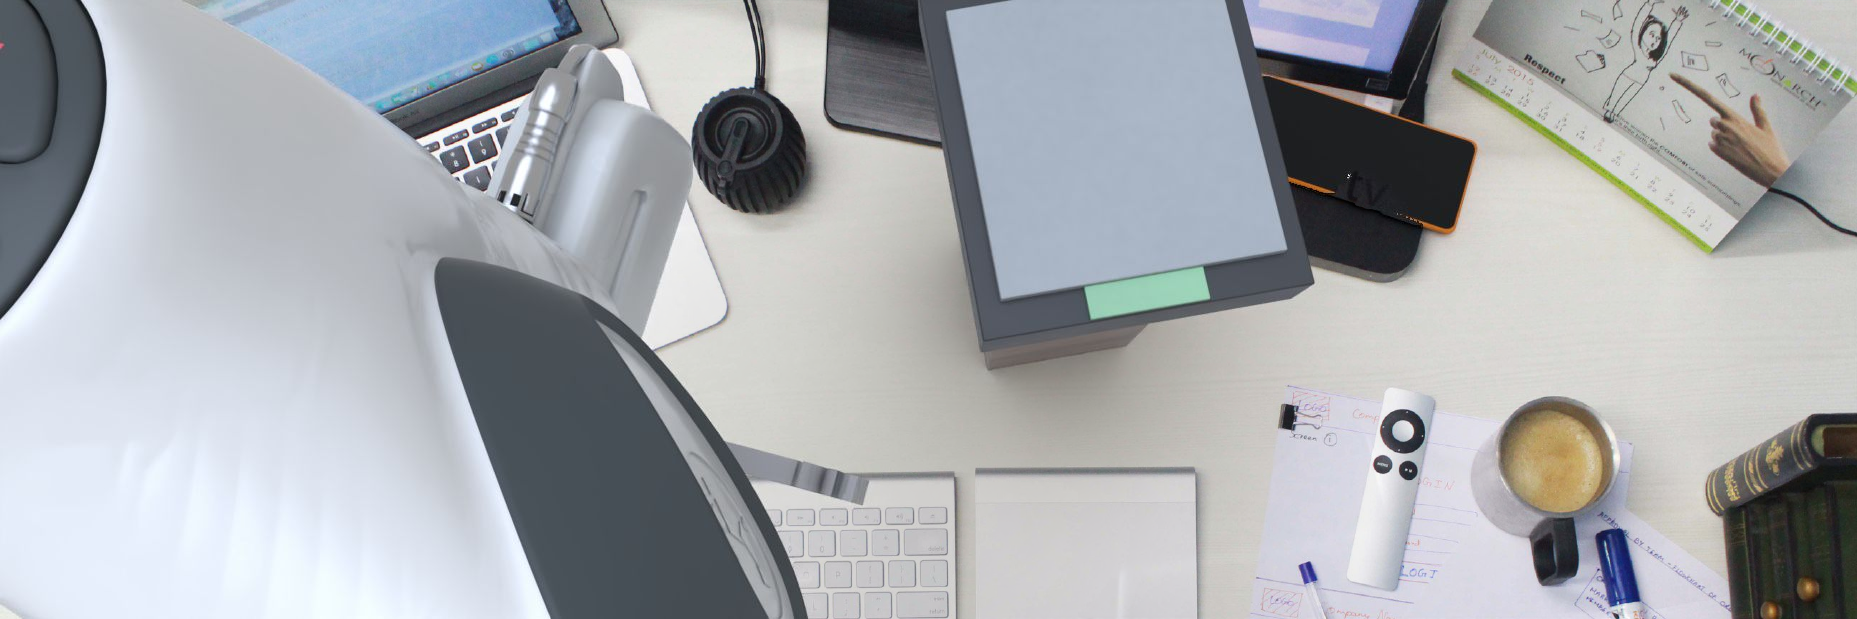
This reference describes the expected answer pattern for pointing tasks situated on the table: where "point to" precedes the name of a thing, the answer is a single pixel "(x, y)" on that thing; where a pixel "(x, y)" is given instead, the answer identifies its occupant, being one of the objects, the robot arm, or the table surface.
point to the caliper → (800, 474)
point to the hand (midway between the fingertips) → (612, 425)
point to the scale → (1109, 163)
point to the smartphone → (1371, 151)
